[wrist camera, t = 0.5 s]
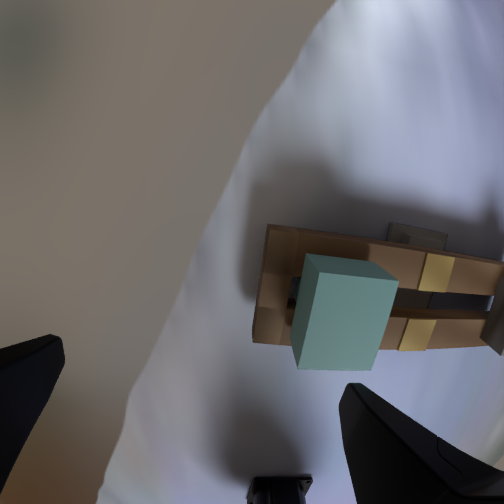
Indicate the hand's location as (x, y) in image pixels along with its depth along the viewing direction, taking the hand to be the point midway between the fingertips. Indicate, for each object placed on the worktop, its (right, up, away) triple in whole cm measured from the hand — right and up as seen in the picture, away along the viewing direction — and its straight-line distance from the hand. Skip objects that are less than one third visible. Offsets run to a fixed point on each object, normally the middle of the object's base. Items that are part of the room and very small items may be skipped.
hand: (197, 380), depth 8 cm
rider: (+6, +1, +10) cm, 12 cm away
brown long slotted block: (+13, +1, +12) cm, 18 cm away
